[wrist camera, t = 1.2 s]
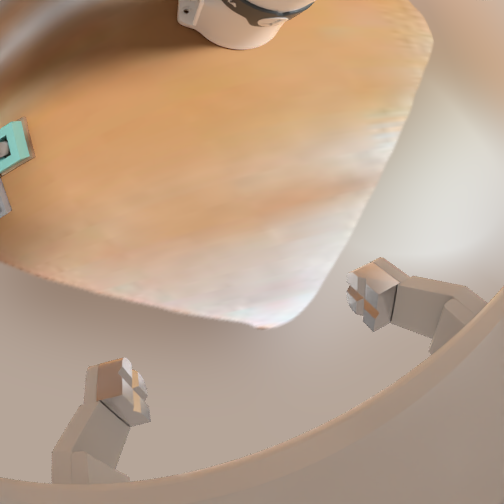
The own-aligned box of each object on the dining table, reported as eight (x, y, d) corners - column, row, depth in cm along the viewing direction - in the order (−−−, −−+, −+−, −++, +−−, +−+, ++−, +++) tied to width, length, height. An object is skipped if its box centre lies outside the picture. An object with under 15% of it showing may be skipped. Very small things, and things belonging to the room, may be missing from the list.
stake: (-6, 136, 26) (-21, 139, 21) (25, 116, 27) (11, 117, 23) (4, 174, 29) (-10, 181, 25) (35, 156, 31) (22, 161, 26)
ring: (-6, 138, 25) (-17, 140, 22) (21, 121, 26) (11, 121, 23) (3, 172, 28) (-8, 176, 25) (29, 156, 29) (20, 159, 26)
